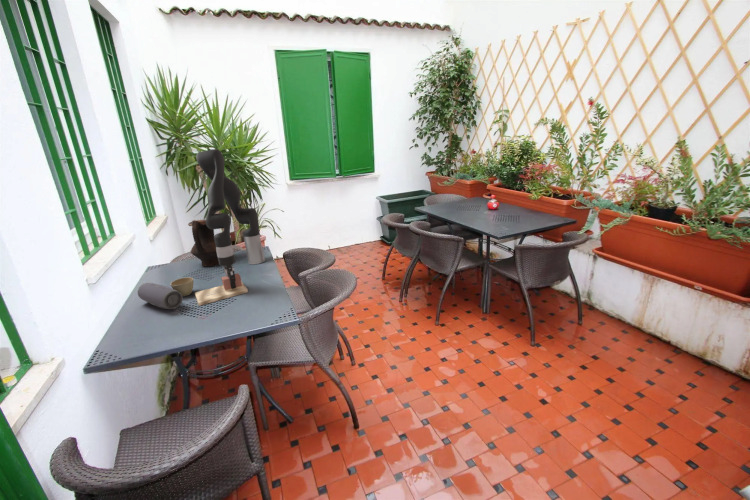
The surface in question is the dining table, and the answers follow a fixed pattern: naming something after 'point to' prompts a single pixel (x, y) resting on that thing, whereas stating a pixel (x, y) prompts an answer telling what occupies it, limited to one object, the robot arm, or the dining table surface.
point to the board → (218, 294)
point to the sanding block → (227, 284)
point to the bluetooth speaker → (160, 295)
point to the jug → (204, 243)
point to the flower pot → (183, 285)
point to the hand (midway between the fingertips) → (232, 286)
